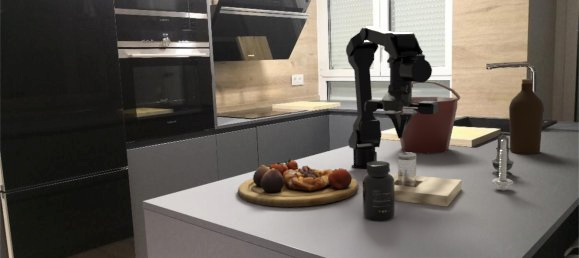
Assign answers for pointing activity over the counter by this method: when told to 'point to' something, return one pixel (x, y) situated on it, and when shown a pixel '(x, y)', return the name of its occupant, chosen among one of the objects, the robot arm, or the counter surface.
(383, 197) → the supplement bottle
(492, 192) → the counter surface
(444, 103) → the bucket
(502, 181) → the screw
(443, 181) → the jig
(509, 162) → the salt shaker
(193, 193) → the counter surface
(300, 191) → the wooden plate with food
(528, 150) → the olive oil
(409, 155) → the grey cylindrical piece
